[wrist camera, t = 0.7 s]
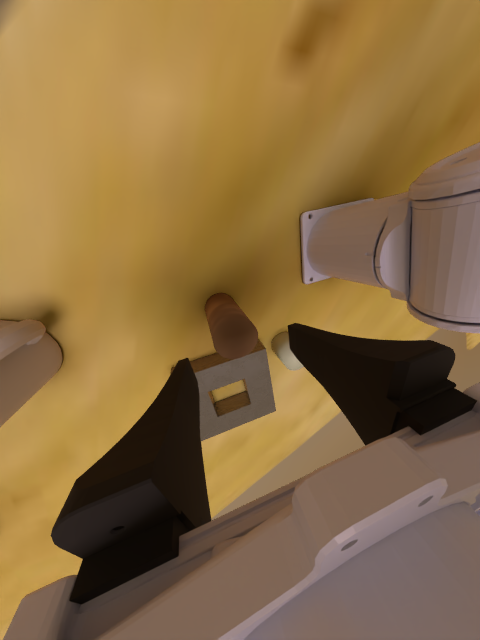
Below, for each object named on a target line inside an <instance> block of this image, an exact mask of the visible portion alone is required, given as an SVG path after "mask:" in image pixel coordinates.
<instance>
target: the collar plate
mask: <svg viewBox="0 0 480 640" xmlns="http://www.w3.org/2000/svg"><path fill="white" fill-rule="evenodd" d="M190 364H191V366H192V369H193V371H194V373H195V376H196V378H197V381H198V387H199V395H200V438H201V441H203V440H205V439H208V438H210V437H213V436H215V435H218V434H220V433H223V432H225V431H228V430H230V429H232V428H235V427H237V426H240V425H242V424H245V423H247V422H250V421H252V420H255V419H257V418H260V417H262V416H265V415H267V414H269V413H272V412H274V411H276V408H275V402H274V396H273V390H272V384H271V378H270V371H269V365H268V359H267V353H266V348H265V347H264V346H263V344H262V343H261V342H260V340H259V339H258V340H257V343H256V346H255V347H254V349H253V350H252V351H251V352H250V353H249V354H247V355H246V356H244V357H241V358H238V359H228V358H224V357H222V356H221V355H220V354H218V353H215V354H212V355H209V356H206V357H203V358H200V359H197V360H194V361H191V362H190ZM174 368H175V367H173V368H171V373H172V372H173V370H174ZM242 379H243V381H244V385H245V389H246V391H245V392H242V393H240V394H237V395H234V396H232V397H229V398H226V399H224V400H221V401H218V402H216V403H215V401H214V398H213V396H212V393H211V391H212V390H215V389H217V388H220V387H223V386H226V385H228V384H231V383H234V382H237V381H239V380H242Z"/></svg>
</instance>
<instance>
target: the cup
mask: <svg viewBox="0 0 480 640" xmlns="http://www.w3.org/2000/svg"><path fill="white" fill-rule="evenodd" d="M45 331H46V328H45V326H44V325H43V324H42V322H41V321H36V320H31V319H27V320H22V321H20V322H16V321H5V320H0V427H1V426H2V425H3V424H4V423H5V422H6V421H7V420H8V419H9V418H10V417H11V416H12V415H13V414H14V413H16V412H17V411H18V410H19V409H20V408H21V407H22V406H23V405H24V404H25V403H26V402H27V401H28V400H29V399H30V398H31V397H32V396H33V395H34V394H35V393H36V392H37V391H38V390H39V389H41V388H42V387H43V386H44V385H45V384H46V383H47V382H48V381H49V380H50V379H51V378H52V377H53V376H54V375H55V374H56V372H57V371H58V370H59V368H60V367H61V363H62V360H63V359H62V353H61V349H60V347H59V345H58V343H57V342H56V341H55V340H54V339H53V338H52V337H51V336H50V335H49V334H47V333H46V332H45Z"/></svg>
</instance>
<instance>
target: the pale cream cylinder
mask: <svg viewBox="0 0 480 640" xmlns="http://www.w3.org/2000/svg"><path fill="white" fill-rule="evenodd" d="M271 347H272V350H273V351H274V352H275V354H276V355H277V356H278V357H279V359H280V360H281V361H282V362H283V364H284V365H285V366H286V367H287V368H288V369H289V370H299V369H301V368H302V367H304V366H303V365H302V364H301V363H300V362H299V361H298V360H297V358H296V357H295V356H294V354H293V353H292V351H291V350H290V346H289V334H288V332H282V333H280V334H278V335H277V336H276V337H275V338H274V339H273V341H272V344H271Z"/></svg>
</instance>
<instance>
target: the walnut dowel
mask: <svg viewBox="0 0 480 640" xmlns="http://www.w3.org/2000/svg"><path fill="white" fill-rule="evenodd" d="M205 312H206V316H207V320H208V323H209V327H210V331H211V335H212V339H213V343H214V347H215V349H216V351H217V352H218V354H220V355H221V356H222V357H224V358H228V359H238V358H241V357H244V356H246V355H247V354H249V353H250V352H251V351H252V350H253V349H254V347H255V346H256V343H257V340H258V332H257V329H256V327H255V326H254V325H253V323H252V322H251V321H250V320H249V318H248V317H247V316H246V315H245V314H244V312H243V311H242V310H241V309H240V308H239V306H238V305H237V304H236V303H235V301H234V300H233V299H232V298H231V297H230V296H229V295H227V294H225V293H217V294H214V295H212V296H211V297H209V299H208V300H207V302H206V304H205Z"/></svg>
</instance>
